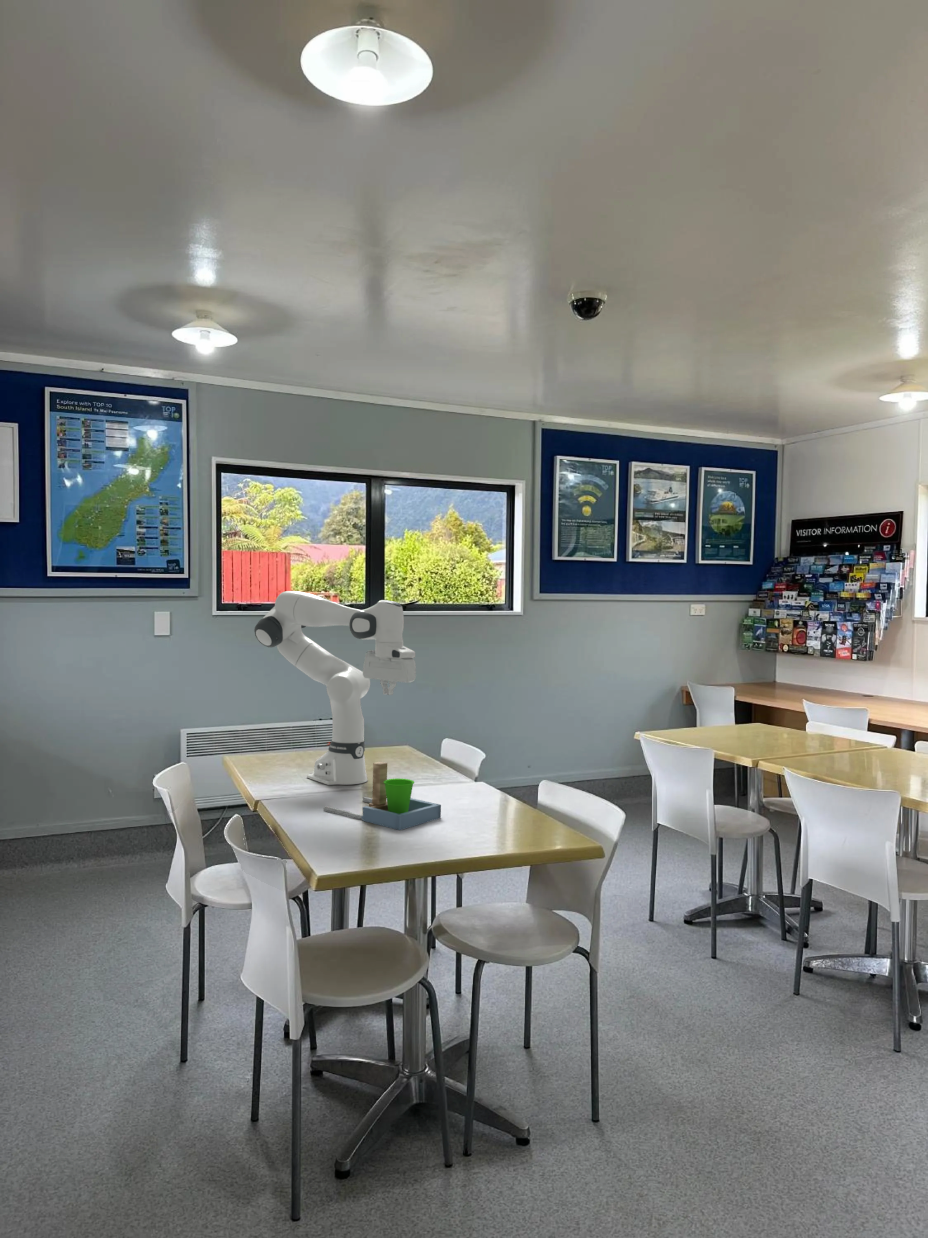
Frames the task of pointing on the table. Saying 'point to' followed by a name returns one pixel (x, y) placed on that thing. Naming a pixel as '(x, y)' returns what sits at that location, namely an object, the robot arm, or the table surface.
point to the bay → (404, 815)
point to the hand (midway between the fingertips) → (388, 694)
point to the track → (347, 813)
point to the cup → (398, 794)
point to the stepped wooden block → (379, 786)
